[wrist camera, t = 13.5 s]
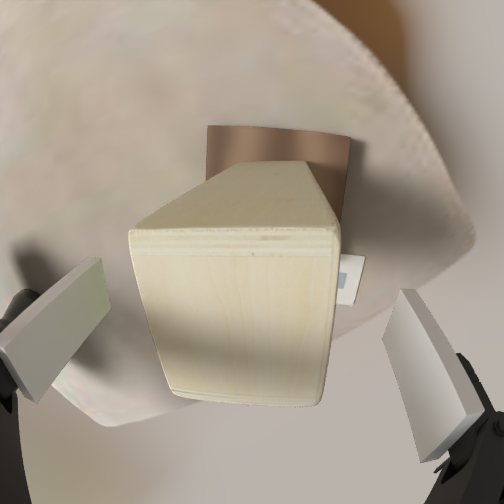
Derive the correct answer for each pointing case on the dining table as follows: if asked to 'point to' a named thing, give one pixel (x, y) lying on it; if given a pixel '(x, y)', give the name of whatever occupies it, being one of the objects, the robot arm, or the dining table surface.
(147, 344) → the dining table surface
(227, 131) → the walnut plinth
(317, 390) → the toy refrigerator
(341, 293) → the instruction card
